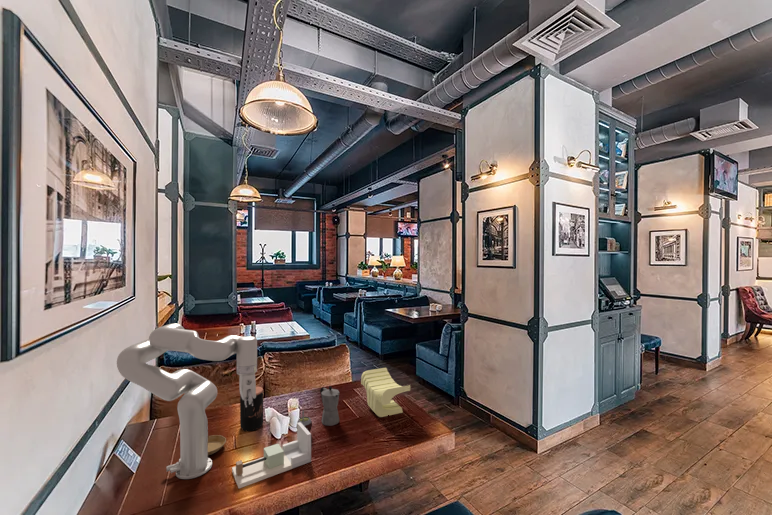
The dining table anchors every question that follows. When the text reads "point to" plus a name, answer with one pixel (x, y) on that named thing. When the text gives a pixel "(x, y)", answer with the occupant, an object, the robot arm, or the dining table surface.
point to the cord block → (265, 458)
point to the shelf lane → (293, 457)
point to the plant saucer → (215, 443)
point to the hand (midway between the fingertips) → (246, 411)
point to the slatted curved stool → (382, 391)
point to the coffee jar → (257, 418)
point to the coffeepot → (330, 406)
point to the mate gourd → (306, 422)
